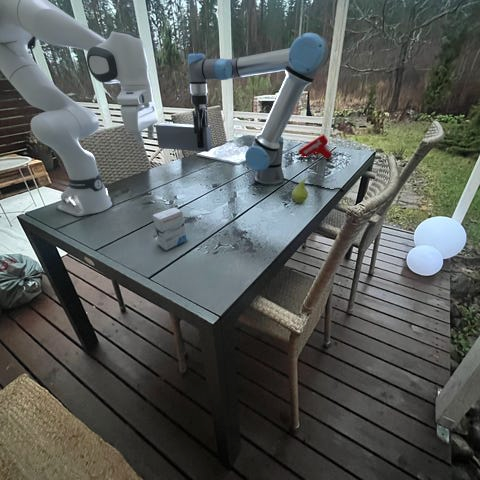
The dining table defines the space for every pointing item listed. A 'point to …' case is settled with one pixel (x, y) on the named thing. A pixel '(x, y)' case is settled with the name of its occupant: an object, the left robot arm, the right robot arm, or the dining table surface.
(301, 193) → the fruit
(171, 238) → the ink box
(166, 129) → the box
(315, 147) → the toy gun
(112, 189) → the dining table surface
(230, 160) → the relief map
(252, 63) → the right robot arm
